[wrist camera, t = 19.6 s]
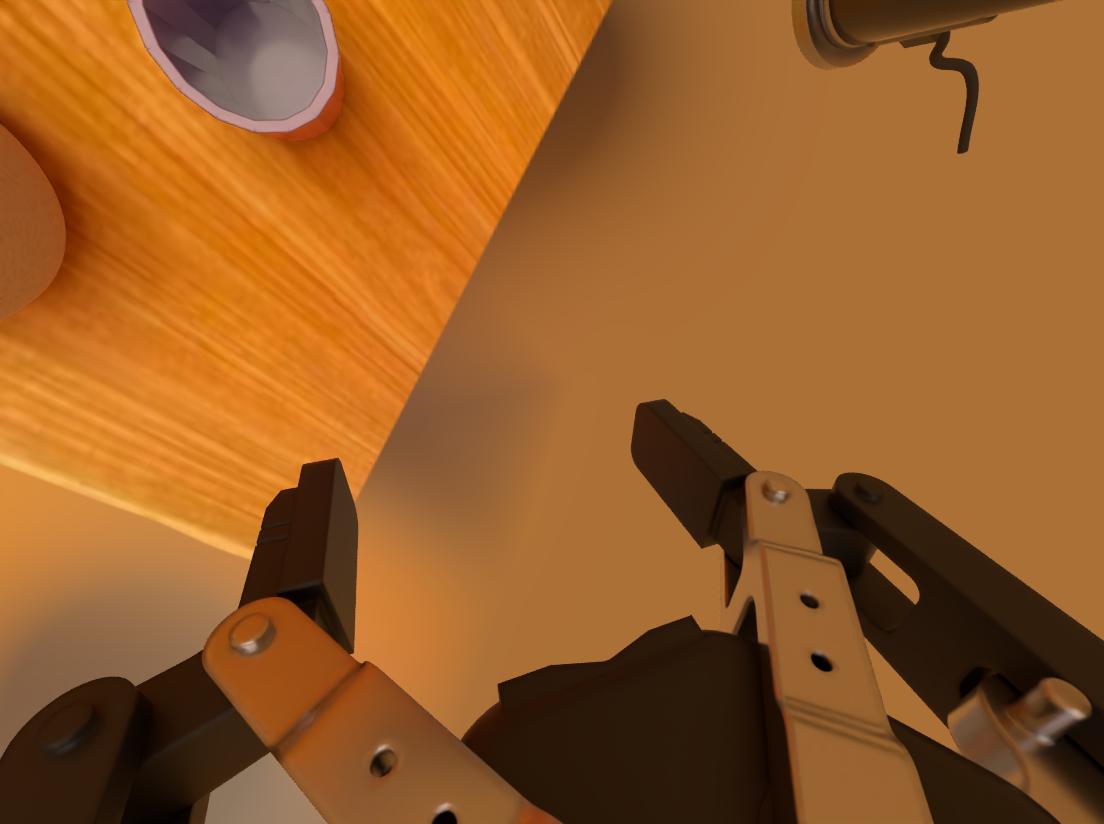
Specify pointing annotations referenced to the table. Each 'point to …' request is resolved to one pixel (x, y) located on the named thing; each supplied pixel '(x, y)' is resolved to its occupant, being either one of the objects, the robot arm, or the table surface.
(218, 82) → the lilac cup
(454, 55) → the table surface
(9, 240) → the planter
